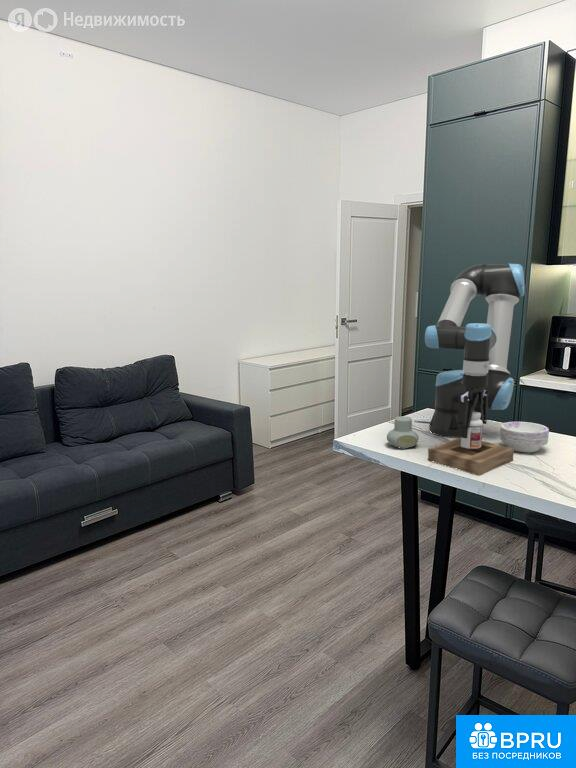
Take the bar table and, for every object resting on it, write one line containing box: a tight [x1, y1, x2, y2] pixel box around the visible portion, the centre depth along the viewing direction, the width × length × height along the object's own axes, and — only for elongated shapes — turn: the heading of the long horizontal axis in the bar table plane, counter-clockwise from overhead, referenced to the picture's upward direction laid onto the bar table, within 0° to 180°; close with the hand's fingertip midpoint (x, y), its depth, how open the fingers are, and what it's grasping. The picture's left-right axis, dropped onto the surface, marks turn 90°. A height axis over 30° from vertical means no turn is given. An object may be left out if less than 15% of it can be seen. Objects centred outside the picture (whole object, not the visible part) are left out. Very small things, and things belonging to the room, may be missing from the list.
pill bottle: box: [469, 410, 484, 449], centre depth 173 cm, size 6×6×11 cm
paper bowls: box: [499, 421, 550, 453], centre depth 186 cm, size 15×15×8 cm
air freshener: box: [386, 415, 420, 449], centre depth 190 cm, size 11×8×10 cm
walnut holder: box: [427, 437, 515, 476], centre depth 175 cm, size 18×20×4 cm
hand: (471, 445), depth 174 cm, fingers closed on pill bottle, 6 cm apart
